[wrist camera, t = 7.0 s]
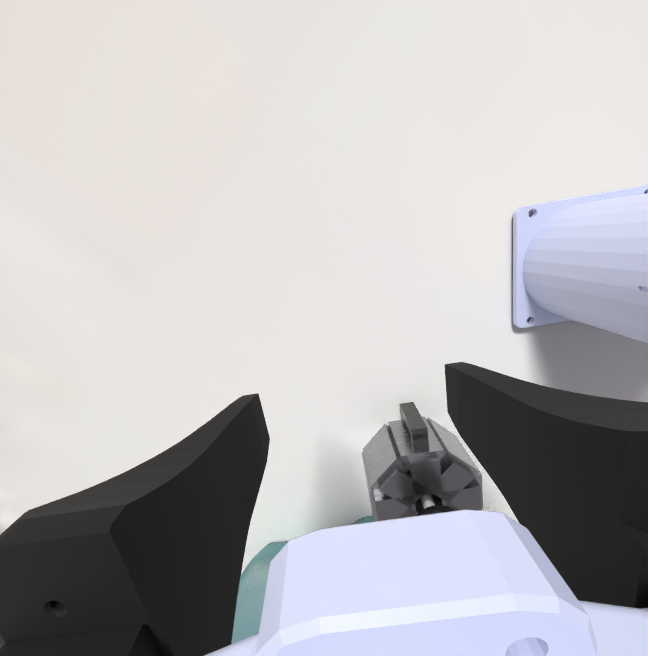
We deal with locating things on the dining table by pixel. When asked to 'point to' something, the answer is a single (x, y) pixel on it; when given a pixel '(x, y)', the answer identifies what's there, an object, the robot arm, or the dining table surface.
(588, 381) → the dining table surface
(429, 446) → the press pot
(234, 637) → the flower pot
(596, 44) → the dining table surface
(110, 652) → the robot arm
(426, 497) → the plunger
